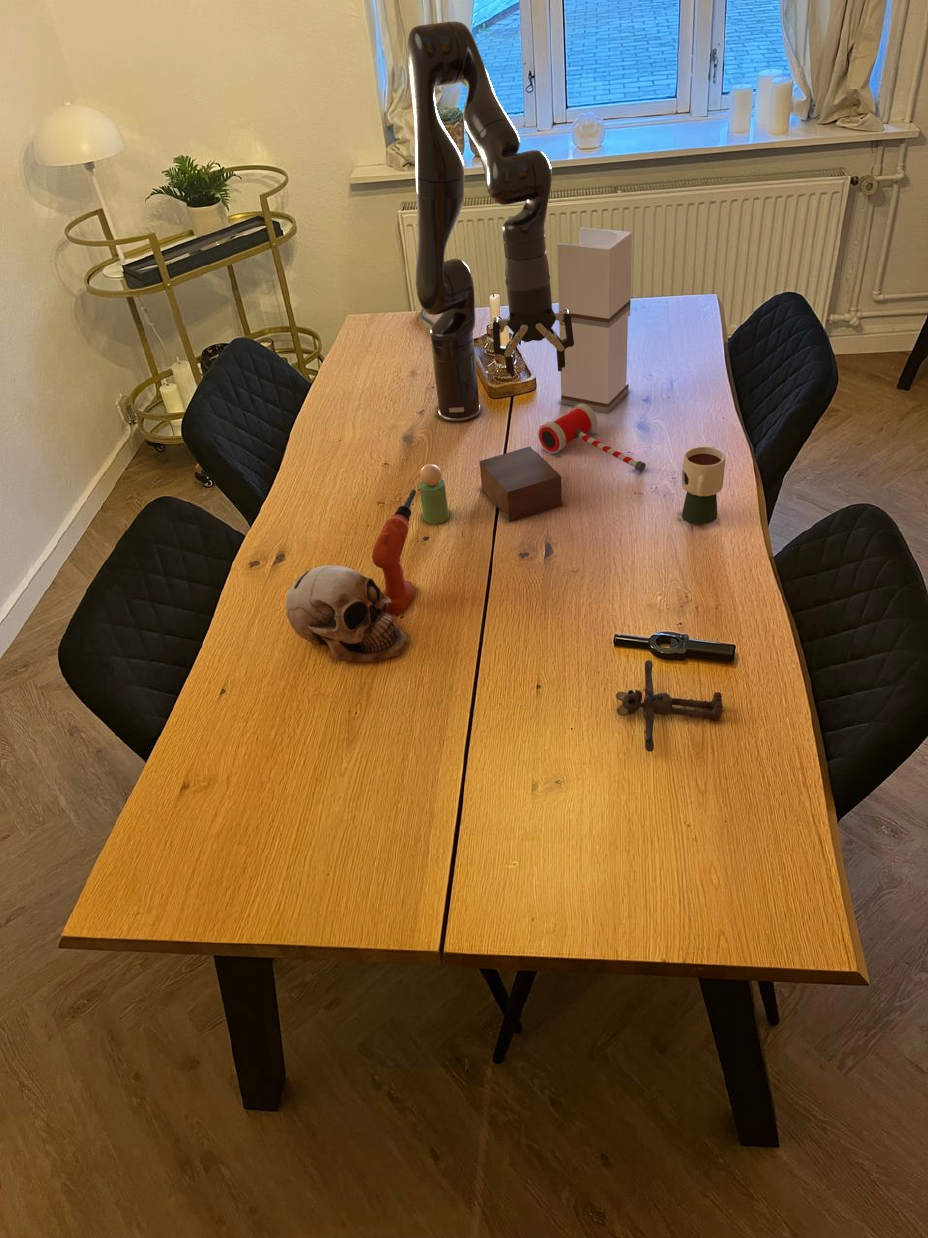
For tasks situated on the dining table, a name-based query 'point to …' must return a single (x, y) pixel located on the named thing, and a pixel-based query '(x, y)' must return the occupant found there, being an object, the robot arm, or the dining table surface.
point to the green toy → (433, 495)
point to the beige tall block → (595, 316)
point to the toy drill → (395, 557)
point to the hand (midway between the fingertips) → (536, 372)
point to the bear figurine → (664, 705)
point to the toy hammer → (578, 434)
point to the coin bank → (344, 614)
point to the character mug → (702, 483)
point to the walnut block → (521, 483)
